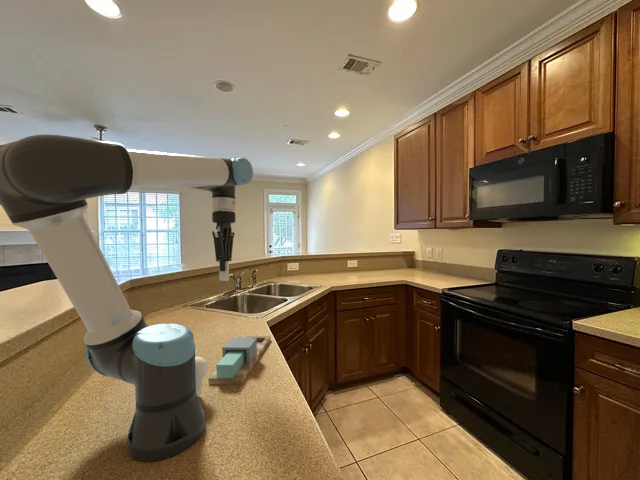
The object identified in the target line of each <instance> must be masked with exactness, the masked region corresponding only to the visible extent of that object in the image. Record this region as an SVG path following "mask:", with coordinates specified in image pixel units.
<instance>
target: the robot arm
mask: <svg viewBox="0 0 640 480" xmlns="http://www.w3.org/2000/svg"><path fill="white" fill-rule="evenodd" d="M253 178H254V171H253V165H252V163H251V162H250V161H249V160H248V159H247V158H246V157H233V158H222V157H213V156H212V157H211V156H201V155H191V154H179V153H170V152H168V153H167V152H161V151H150V150H149V151H148V150H141V149H140V150H138V149H137V150H136V149H130V148H129V149H128V148H127V147H125V145H123V144H121V143H119V142H115V141H106V140H98V139H90V138H83V137H78V136H77V137H76V136H68V135H61V134H35V135H29V136H26V137H24V138H21V139H19V140H14V141H12V142H8V143H4V144H0V206H1V207H2V209H3V210H4V212H5V213H6V216H7V217H8V219H9V220H10V222H11V223H12V225H13V226H17V227H20V228H22V229H26V230H27V231H29V233H30V235H31V237H32V238H33V240H34V241H35V243H36V244H37V246H38V248H39V250H40V251H41V253H42V255H43V257H44V258H45V260H46V262H47V263H48V265H49V268H51V270H52V272H53V274H54V275H55V277H56V278H57V281H58V282H59V284H60V285H61V287H62V289H63V290H64V292H65V294H66V295H67V297H68V299H69V301H70V302H71V304H72V306H73V308H74V309H75V311H76V312H77V314H78V316H79V318H80V319H81V322H82V323H83V325H84V326H85V328H86V330H87V331H86V333H85V334H84V337H83V342H84V344H85V346H86V349H85V359H86V361H87V364H88V365H89V367H90V368H91V369H92V370H94V371H95V372H96V373H98V374H99V375H102V376H104V377H109V378H112V379H115V380H119V381H121V382H125V383H127V384H130V385H134V390H135V393H134V394H135V412H134V415H133V418H132V420H131V423H130V427H129V430H128V434H127V437H126V443H127V444H126V447H127V448H126V449H127V450H126V451H127V454H128V455H129V457H131V458H132V459H133V460H135V459H136V461H139V460H140V462H155V461H154V460H157V461H160V460H165V459H168V458H170V456H171V457H173V456H176V455H178V454H180V453H181V451H182V452H184V451H185V450H186V449H188V448H189V447H191V446H192V445H194V444H195V443H196V442H197V441H198V440H199V438H200V437H201V436H202V435H203V433H204V432H205V429H206V415H205V411H204V409H203V406H202V404H201V402H200V400H199V397H198V396H197V394H196V376H195V357H196V344H195V337H194V333H193V331H192V329H191V328H189V327H188V326H186V325H183V324H179V323H158V324H157V323H156V324H153V325H149V326H148V324H147V322H146V319H145V318H144V316H143V314H142V312H141V311H138V310H135V309H131V307H130V306H129V304H128V301H127V300H126V298H125V296H124V294H123V292H122V289H121V287H120V285H119V284H118V281H117V279H116V277H115V276H114V274H113V271H112V270H111V267H110V265H109V263H108V262H107V259H106V258H105V255H104V253H103V252H102V250H101V247H100V245H99V243H98V241H97V240H96V238H95V235H94V233H93V232H92V230H91V228H90V226H89V223H88V221H87V219H86V218H85V213H86V211H87V209H88V208H89V204H88V202H87V199H88V200H89V199H92V198H96V197H98V198H99V197H104V196H111V195H124V194H127V193H129V192H130V191H131V190H132V189H156V188H157V189H158V188H160V189H161V188H162V189H163V188H165V189H166V188H191V189H194V190H195V189H196V190H201V191H207V192H211V201H212V202H211V210H212V213H211V217H212V218H211V221H212V223H213V224H216V226H215V230H212V232H211V233H212V237H213V244H214V246H213V247H214V253H215V261H216V262H217V263H218V262H219V271H218V272H219V277H218V279H219V280H218V281H219V282H228V281H229V280H230V262H232V258H233V245H234V238H235V232H233V230H232V226H231V225H232V224H235V223H236V212H235V211H236V204H237V201H236V186H243V185H247V184H249V183H251V181H252V180H253ZM179 452H180V453H179ZM177 453H178V454H177ZM175 454H176V455H175ZM172 455H173V456H172ZM167 457H168V458H167Z"/></svg>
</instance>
